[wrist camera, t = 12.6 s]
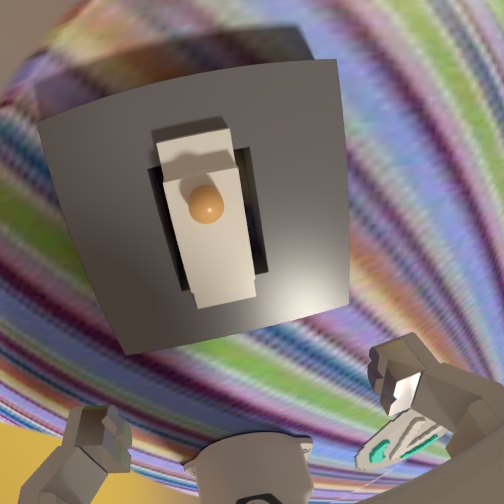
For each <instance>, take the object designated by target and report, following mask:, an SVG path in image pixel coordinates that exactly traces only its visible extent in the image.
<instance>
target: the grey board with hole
mask: <svg viewBox="0 0 504 504" xmlns="http://www.w3.org/2000/svg"><path fill="white" fill-rule="evenodd" d="M37 125H38V129H39V134H40V138H41V142H42V146H43V150H44V153H45V157H46V161H47V164H48V168H49V172H50V175H51V178H52V182H53V185H54V188H55V191H56V194H57V198H58V201H59V204H60V207H61V210H62V213H63V215H64V218H65V221H66V224H67V227H68V229H69V232H70V235H71V237H72V240H73V243H74V245H75V248H76V250H77V253H78V255H79V258H80V260H81V263H82V265H83V268H84V270H85V272H86V275H87V277H88V279H89V282H90V284H91V286H92V288H93V291H94V293H95V295H96V297H97V299H98V301H99V304H100V306H101V308H102V310H103V312H104V314H105V316H106V318H107V320H108V322H109V324H110V326H111V328H112V330H113V332H114V334H115V336H116V338H117V340H118V342H119V344H120V345H121V347H122V349H123V351H124V353H125V355H126V356H127V355H133V354H139V353H144V352H150V351H155V350H161V349H166V348H171V347H177V346H182V345H187V344H192V343H197V342H201V341H206V340H211V339H216V338H220V337H225V336H229V335H234V334H238V333H242V332H247V331H251V330H255V329H259V328H263V327H267V326H271V325H275V324H279V323H283V322H287V321H291V320H295V319H299V318H302V317H306V316H310V315H313V314H317V313H321V312H324V311H328V310H331V309H335V308H338V307H342V306H345V305H349V200H348V177H347V160H346V145H345V132H344V121H343V110H342V101H341V92H340V83H339V75H338V67H337V60H336V59H321V60H301V61H287V62H275V63H265V64H256V65H248V66H241V67H234V68H227V69H221V70H215V71H209V72H203V73H198V74H193V75H188V76H183V77H178V78H174V79H170V80H165V81H161V82H157V83H153V84H149V85H145V86H141V87H138V88H134V89H130V90H127V91H123V92H120V93H117V94H113V95H110V96H107V97H104V98H101V99H98V100H95V101H92V102H89V103H86V104H83V105H80V106H77V107H75V108H72V109H69V110H67V111H64V112H61V113H59V114H56V115H54V116H51V117H49V118H46V119H44V120H42V121H39V122H37ZM227 127H228V128H230V133H231V139H232V146H233V150H234V149H240V148H243V155H244V161H245V167H246V173H247V179H248V185H249V192H250V198H251V204H252V210H253V217H254V223H255V229H256V235H257V242H258V248H259V251H256V252H252V253H251V254H252V260H253V267H254V273H255V279H256V280H254V284H255V290H256V297H252V298H247V299H243V300H238V301H233V302H229V303H224V304H219V305H215V306H210V307H205V308H200V309H198V307H197V304H196V300H195V297H194V293H191V290H190V286H189V283H188V279H187V276H186V272H185V269H184V268H181V264H180V261H179V258H178V254H177V251H176V247H175V244H174V240H173V236H172V233H171V229H170V225H169V222H168V218H167V214H166V211H165V207H164V203H163V199H162V195H161V191H160V187H159V183H158V179H157V175H156V171H155V167H157V166H161V162H160V158H159V153H158V148H157V142H159V141H163V140H167V139H172V138H176V137H181V136H185V135H190V134H195V133H200V132H205V131H211V130H216V129H222V128H227Z"/></svg>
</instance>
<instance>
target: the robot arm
mask: <svg viewBox="0 0 504 504" xmlns="http://www.w3.org/2000/svg"><path fill="white" fill-rule="evenodd" d="M369 357H370V359H371V360H372V361H371V362H370V363H369V365H368V370H367V373H368V379H369V382H370V385H371V387H372V389H373V391H374V392H376V393H378V394H380V395H381V398H380V403H381V405H382V407H383V408H384V410H385V412H386V414H387V415H388V416H391V415H394V414H396V413H399V412H401V411H404V410H406V409H408V408H411V409H413V410H414V411H416V412H418V413H419V414H421V415H423V416H425V417H426V418H428V419H430V420H432V421H433V422H435V423H437V424H439V425H440V426H442V427H444V428H446V429H447V430H449V431H451V432H453V435H452V436H451V438H450V440H449V441H448V443H447V445H446V450H447V452H448V453H449V455H450V457H451V459H450V460H448V461H446V462H445V463H443V464H441V465H439V466H437V467H435V468H434V469H432V470H430V471H428V472H426V473H424V474H422V475H420V476H418V477H416V478H414V479H412V480H410V481H408V482H405V483H403V484H401V485H399V486H397V487H394V488H392V489H390V490H387V491H385V492H383V493H380V494H378V495H375V496H373V497H370V498H368V499H365V500H362V501H360V502H357V503H354V504H504V386H503V385H502V384H501V383H498V382H495V381H492V380H490V379H487V378H484V377H481V376H479V375H476V374H473V373H471V372H468V371H465V370H463V369H460V368H457V367H455V366H452V365H449V364H447V363H444V362H443V363H441V364H440V363H439V362H438V361H437V359H436V358H435V357H434V356H433V354H432V353H431V352H430V351H429V350H428V348H427V347H426V346H425V345H424V344H423V342H422V341H421V340H420V339H419V338H418V336H417V335H416V334H415V333H413V332H411V333H409V334H406V335H404V336H401V337H399V338H395V339H392V340H390V341H387V342H384V343H382V344H379V345H376V346H374V347H371V349H370V350H369ZM118 413H119V411H118V409H117V408H116V407H115V406H114V405H101V406H82V407H72V409H71V410H70V412H69V416H68V420H67V424H66V428H65V432H64V437H63V441H62V445H61V446H58V447H57V448H56V449H55V450H54V451H53V452H52V453H51V455H50V456H49V457H48V458H47V459H46V460H45V461H44V462H43V463H42V464H41V466H40V467H39V468H38V469H37V470H36V471H35V472H34V473H33V475H32V476H31V477H30V478H29V479H28V480H27V481H26V482H25V483H24V485H23V486H22V487H21V490H20V495H19V500H18V504H90V503H91V501H92V500H93V498H94V496H95V495H96V493H97V492H98V490H99V488H100V487H101V485H102V484H103V482H104V480H105V479H106V477H107V476H108V474H107V473H128V472H130V463H131V455H130V454H129V452H128V451H127V450H128V449H129V447H130V446H131V445H132V434H131V429H130V426H129V424H128V422H127V421H126V420H125V419H124V418H122V417H120V416H118ZM312 448H313V440H312V439H311V438H295V437H291V436H289V435H286V434H282V433H274V432H259V433H249V434H243V435H238V436H233V437H230V438H226V439H223V440H220V441H218V442H215V443H213V444H211V445H209V446H208V447H206V448H205V449H203V450H202V451H201V452H200V453H199V455H198V456H197V457H196V458H195V459H194V460H192V461H190V462H188V463H186V464H184V466H183V467H184V471H185V473H187V474H188V475H190V476H191V477H193V478H195V479H196V483H197V488H198V493H199V498H200V503H201V504H307V503H308V500H309V498H310V497H311V496H312V492H314V485H313V482H312V479H311V475H310V472H309V469H308V465H307V460H308V457H309V455H310V453H311V450H312Z"/></svg>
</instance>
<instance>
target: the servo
mask: <svg viewBox="0 0 504 504" xmlns="http://www.w3.org/2000/svg"><path fill="white" fill-rule="evenodd" d="M157 148H158V153H159V158H160V162H161V167H162V171H163V176H164V180H163V186H164V190H165V195H166V199H167V203H168V207H169V211H170V215H171V219H172V223H173V227H174V231H175V235H176V239H177V243H178V246H179V250H180V254H181V258H182V261H183V265H184V269H185V272H186V276H187V279H188V283H189V286H190V290H191V293H194V297H195V300H196V304H197V307H198V309H200V308H205V307H210V306H215V305H219V304H224V303H229V302H233V301H238V300H243V299H247V298H252V297H256V290H255V284H254V280H256V279H255V273H254V267H253V260H252V254H251V247H250V241H249V235H248V228H247V222H246V216H245V209H244V203H243V196H242V190H241V183H240V177H239V171H238V167H237V165H236V164H235V158H234V152H233V146H232V139H231V133H230V128H228V127H227V128H222V129H216V130H211V131H205V132H200V133H195V134H190V135H185V136H181V137H176V138H172V139H167V140H163V141H159V142H157Z"/></svg>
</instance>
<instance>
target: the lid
mask: <svg viewBox="0 0 504 504" xmlns="http://www.w3.org/2000/svg"><path fill="white" fill-rule="evenodd" d="M447 431H448V430H447V429H446V428H444V427H442V426H440V425H439V424H437V423H435V422H433V421H432V420H430V419H428V418H426V417H425V416H423V415H421V414H419V413H418V412H416V411H414V410H413V409H411V408H408V409H407V410H406V411H403V412H402V413H401V414H400V415H399V416H398V417H396V418H395V419H394V420H393V421H389V422H388V423H387V424H386V425H385V426H384V427H383V428H382V429H381V430H380V431H378V432H377V433H376V434H375V435H374V436H373V437H372V438H371V439H369V440H368V441H367V442H366V443H365V444H364V445H363V448H362V449H360V450H359V451H358V452H357V455H356V456H355V463H356V464H355V465H356V468H359V470H361V469H364V471H365V470H372V469H379V468H385V467H386V466H388V465H394V464H395V463H397V462H401V461H402V460H405V459H406V458H409V457H410V456H412V455H414V454H415V453H418V452H419V451H421V450H423V449H425V448H426V447H428V446H429V445H430V444H432V443H433V442H435V441H436V440H437V439H438V438H440V437H442V436H443V435H444V434H445V433H446V432H447Z"/></svg>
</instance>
